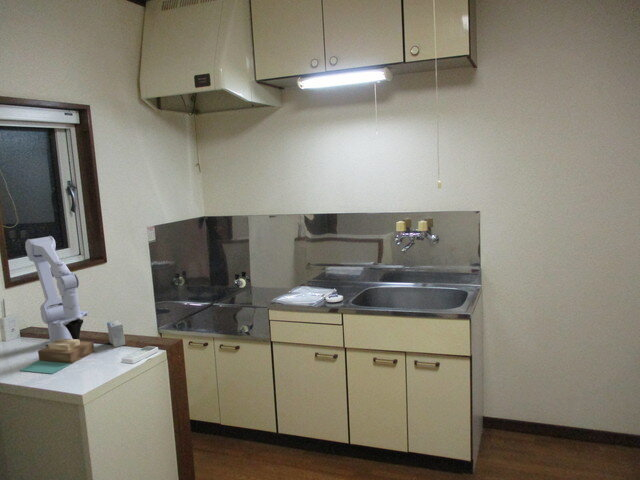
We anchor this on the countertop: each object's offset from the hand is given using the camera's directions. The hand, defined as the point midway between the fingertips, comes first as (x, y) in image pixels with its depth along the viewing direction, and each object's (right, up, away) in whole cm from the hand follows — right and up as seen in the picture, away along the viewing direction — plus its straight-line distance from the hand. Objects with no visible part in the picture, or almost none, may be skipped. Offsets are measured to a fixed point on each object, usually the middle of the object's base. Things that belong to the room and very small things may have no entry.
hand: (75, 338), depth 205 cm
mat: (-5, -8, -14) cm, 17 cm away
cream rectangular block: (-2, -2, -5) cm, 6 cm away
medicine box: (+14, -3, +7) cm, 16 cm away
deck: (-1, -6, -4) cm, 7 cm away
